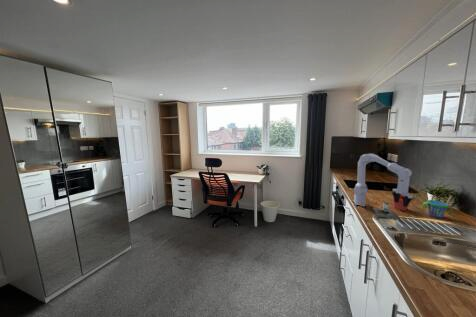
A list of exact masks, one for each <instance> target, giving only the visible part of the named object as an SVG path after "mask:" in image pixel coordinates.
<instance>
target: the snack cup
mask: <svg viewBox="0 0 476 317" xmlns="http://www.w3.org/2000/svg"><path fill="white" fill-rule="evenodd" d="M426 204H427V215H429V216H430V217H434V218H439V219H443V217H444V216H445V214H446V211H447V209H448V208H450V209H449V211H448V212H449V214H450V215H452V214H453V208H452V206H451V205H449V204H448V203H447V202H443V201H438V200H434V199H433V200H432V199H429V200H427V201H424V202H422V205H421V210H422V211H424V210H425V209H424V208H425V205H426Z"/></svg>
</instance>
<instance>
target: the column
mask: <svg viewBox="0 0 476 317" xmlns="http://www.w3.org/2000/svg"><path fill="white" fill-rule="evenodd" d="M389 208H390V202H386V201H383V202H382V207H381V209H382V211H383V212H389Z"/></svg>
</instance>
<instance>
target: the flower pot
mask: <svg viewBox="0 0 476 317" xmlns="http://www.w3.org/2000/svg"><path fill="white" fill-rule="evenodd" d="M391 197H392V205H393V208H394V209H395V210H397V211H404V212H405V211H407V210H408V207H409V205H410V203H411V201H410V202H409V204H408V206H407V207H404V206H403V199H402V197H405V196H404V195H401V196H400V198H399V202H395V201H394V197H393V195H392V196H391Z"/></svg>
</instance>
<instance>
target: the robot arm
mask: <svg viewBox="0 0 476 317" xmlns="http://www.w3.org/2000/svg"><path fill="white" fill-rule="evenodd" d="M371 162H372V163H373V162H374V163H375V162H376V163H378V164H381V165H382V166H384V167H386V168H387V170H388V171H390V172H392V173H394V174H396V175H397V176H398V179H397V188H392V191H391V194H392V196H393V197H394V201H395V202H399V198H400V196H401V195H402V196H405V197H402V199H403V206H404V207H407V206H408V207H409V205H410V203H411V201H412V200H414V199H413V195H412V194H410V193H409V187H410V177H411V176H412V175H413V171H412V170H411V169H410V168H406V167H405V166H401V165H399V164H398V163H397V162H389V161H388V160H385V159H383V158H382V157H380V156H379V155H377V154H375V153H365V154H362V155H360V157H359V160H358V161H357V173H356V174H357V179H356V180H357V183H355V186H354V188H353V193H354V195H353V201H354V202H355V204H357V205H361V206H360V207H365V206H366V207H367V205H366V194H367V193H368V191H369V190H368V189H369V188H368V185H367V184H366V165H367V164H369V163H371ZM409 202H410V203H409ZM355 204H354V205H355ZM408 204H409V205H408Z"/></svg>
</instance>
